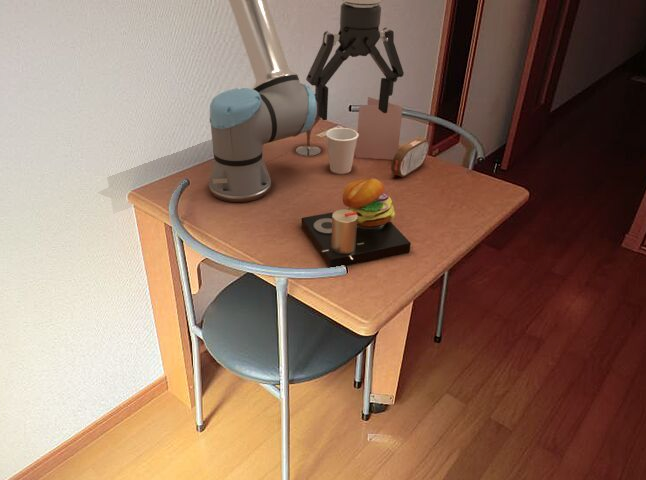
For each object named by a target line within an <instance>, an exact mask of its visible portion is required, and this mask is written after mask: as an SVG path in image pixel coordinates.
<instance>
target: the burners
mask: <svg viewBox="0 0 646 480" xmlns="http://www.w3.org/2000/svg"><path fill="white" fill-rule="evenodd" d="M385 224H386V223H385ZM385 224H382V225H378V226H371V227H368V226H361V225H359V224H357V227H358V228H361V229H368V230H371V229H378V228H381V227H383V226H384V225H385ZM314 229H315V230H316V231H317V232H319V233H322V234H332V219H330V218H324V219H320V220H317V221H316V222H315V223H314Z"/></svg>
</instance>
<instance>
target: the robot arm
mask: <svg viewBox="0 0 646 480" xmlns="http://www.w3.org/2000/svg"><path fill="white" fill-rule="evenodd" d="M382 1H383V0H341V2H343V3H342V4H340V12H339V13H340V14H339V17H340V18H339V31H338V33H331V32H330V31H328V30H326V31H324V32H323V36H322V42H321V46H320V48H319V50H318V52H317V54H316V56H315V58H314V60H313V63H312V65H311V67H310V70H309V72H308V74H307V75H306V82H308V83H309V84H310V85H311V86H314V87H315V90H313V89H312V88H311V87H310V86H309V85H308V84H306V83H303V82H302V83H301V82H300V78H299V75H298V73H296V72H295V71H293V70H290V68H289V65H288V62H287V58H286V55H285V52H284V50H283V47H282V44H281V41H280V37H279V34H278V31H277V28H276V25H275V23H274V22H275V21H274V19H273V16H272V13H271V9H270V7H269V4H268V1H267V0H228V3H229V6H230V9H231V12H232V15H233V19H234V21H235V23H236V24H235V25H236V27H237V30H238V33H239V36H240V39H241V41H242V44H243V48H244V50H245V54H246V57H247V59H248V62H249V65H250V68H251V71H252V75H253V78H254V81H255V82H254V85H253V87H252V88H249V87H242V88H232V89H227V90H225V91H223V92H220V93H218V94H217V95H216V96H214V97H213V98H212V99H211V102H210V104H209V124H210V133H211V140H212V141H211V142H212V149H213V151H212V152H213V164H212V168H211V171H210V176H209V179H208V188H209V193H210V194H211V195H212V196H213V197H214V198H216V199H218V200H221V201H224V202H229V203H248V202H253V201H257V200H259V199H262V198H263V197H265V196H267V195H268V194H269V193H270V192H271V190H272V179H271V176H270V173H269V171H268V168H267V166H266V163H265V160H264V157H263V155H264V154H263V145H266V144H268V143H273V142H276V141H280V140H284V139H288V138H291V137H298V136H299V135H302V134H304V133H306V132H307V131H308V130H310V129H311V127H312V126H313V124H314V122H315V118H316V115H317V103H316V102H318V103H319V116H320V117H321V119H322V121H328V108H329V107H328V105H329V87H328V86H327V84H328V82H329V81H330V80H331V78H332V77H333V76H334V75H335V74H336V72H337V71H338V70H339V69H340V67H341V65H343V63H344V62H345V61H347V60H348V59H349V58H350V57H352V58H357V57H359V56H360V57H367V56H368V55H370V57H371V59H373V61H374V63H375V64H376V65H377V67H378V68H379V70H380V72H381V73H382V74H383V75H384V77H381V78H380V85H379V87H380V88H379V96H378V97H379V98H378V100H379V106H378V109H379V110H380V111H382V112H383V113H387V110H388V103H389V100H390V97H391V96H393V93H394V85H395V83H396V82H397V81H398V78H402V77H403V76H405V72H404V69H403V66H402V63H401V60H400V57H399V54H398V51H397V47H396V45H395V41H394V39H395V37H394V36H395V33H394V30H392V29H391V28H388V27H384V28H382V29H381V30H380V24H381V16H382V7H381V5H380V3H382ZM380 40H381V41H382V43H383V46H384V49H385V52H386V55H387V58H388V61H389V64H388V63H387V61H386V60H385V59H384V58H383V56H382V55H381V52H380V50H379V49H378V47H377V46H376V45H377V43H378V42H379V41H380ZM337 42H338V43H339V46H338V47H337V48H336V50H335V52H334V53H333V55H332V56H331V57H330V55H331V53H332V51H333V48H334V46H335V45H336V44H337ZM329 57H330V60H329V61H328V59H329ZM327 61H328V62H327ZM389 65H390V66H389ZM314 91H315V93H314ZM314 94H315V95H314Z"/></svg>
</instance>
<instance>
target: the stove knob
mask: <svg viewBox="0 0 646 480" xmlns="http://www.w3.org/2000/svg"><path fill="white" fill-rule="evenodd" d="M333 212H334V213H333V214H332V234H331V249H332V250H333V251H334V252H336V253H338V254H350V253H352V252H354V251H355V248H356V234H357V221H358V215H357V212H354V211H351V210H349V209H347V208H346V209H345V208H343V209H338V210H335V211H333Z"/></svg>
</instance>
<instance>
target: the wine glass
mask: <svg viewBox="0 0 646 480" xmlns="http://www.w3.org/2000/svg"><path fill="white" fill-rule="evenodd" d="M314 95H315V93H314ZM316 103H317V115H316V118H315V122H314V124H313V126H312V127H311V129H310V130H308V131H307V132H305V133H306V144H305V145H300V146H298V147H297V148H296V149H295V153H297V154H298V155H300V156H307V157H310V156H311V157H312V156H317V155H319V154H321V152H322V151H321V148H320V147H318V146H317V145H312V144H311V133H312V131H313V129H314V128H315V126H316V125H317V124H318V123H319V122H320V121H321V119H322V118H321V117H320V116H319V103H318V102H316Z"/></svg>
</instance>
